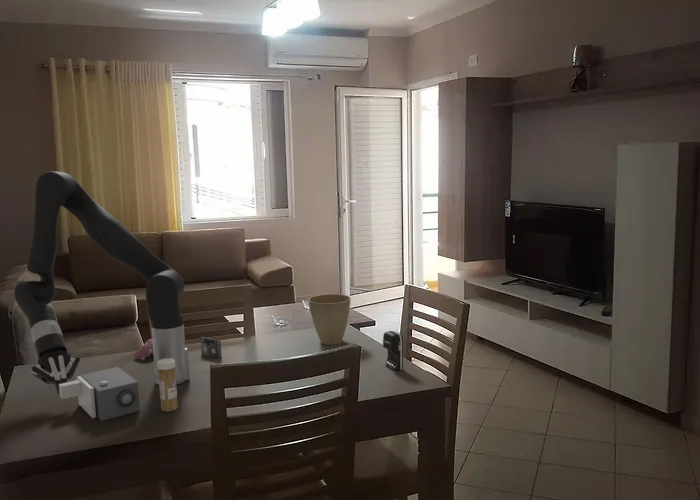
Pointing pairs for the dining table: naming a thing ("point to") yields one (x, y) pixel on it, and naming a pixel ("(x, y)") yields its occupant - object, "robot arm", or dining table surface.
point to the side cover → (80, 394)
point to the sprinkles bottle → (167, 384)
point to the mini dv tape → (211, 347)
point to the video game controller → (145, 350)
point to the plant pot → (330, 316)
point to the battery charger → (394, 349)
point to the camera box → (113, 393)
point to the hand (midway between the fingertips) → (64, 393)
